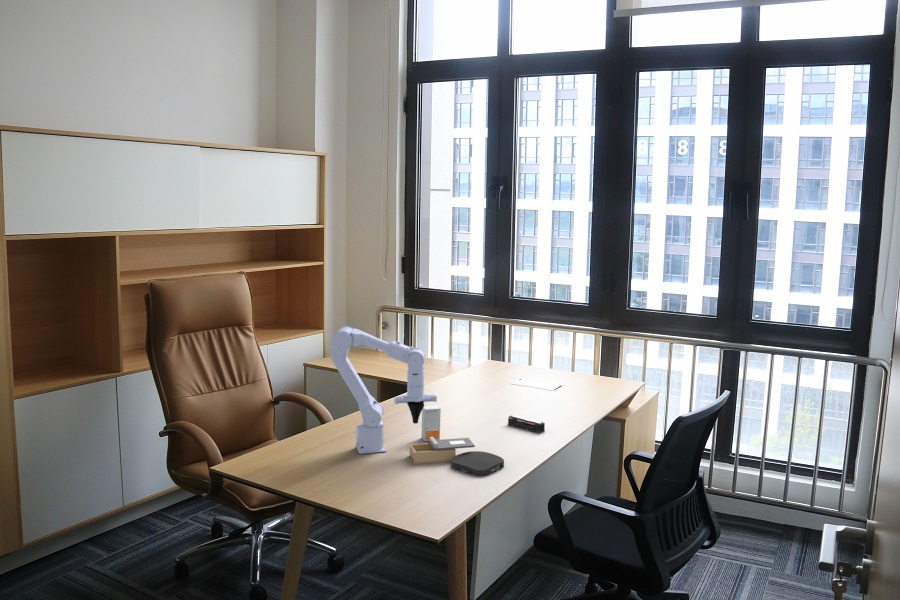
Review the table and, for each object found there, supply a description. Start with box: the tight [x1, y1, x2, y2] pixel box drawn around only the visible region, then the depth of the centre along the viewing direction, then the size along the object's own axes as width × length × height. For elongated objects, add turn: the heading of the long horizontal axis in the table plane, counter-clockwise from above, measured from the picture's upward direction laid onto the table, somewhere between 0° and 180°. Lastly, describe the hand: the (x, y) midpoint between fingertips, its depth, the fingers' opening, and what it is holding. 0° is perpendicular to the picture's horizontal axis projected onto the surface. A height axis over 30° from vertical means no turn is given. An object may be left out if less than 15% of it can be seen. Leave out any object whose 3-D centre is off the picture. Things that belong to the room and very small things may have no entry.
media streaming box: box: [450, 450, 505, 477], centre depth 254 cm, size 15×15×3 cm
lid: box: [428, 437, 476, 450], centre depth 261 cm, size 14×8×2 cm, turn 105°
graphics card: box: [507, 414, 546, 434], centre depth 296 cm, size 14×25×4 cm, turn 49°
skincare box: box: [421, 405, 441, 442], centre depth 279 cm, size 6×4×12 cm
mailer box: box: [409, 442, 457, 465], centre depth 260 cm, size 14×8×4 cm, turn 105°
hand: (415, 422), depth 266 cm, fingers closed
